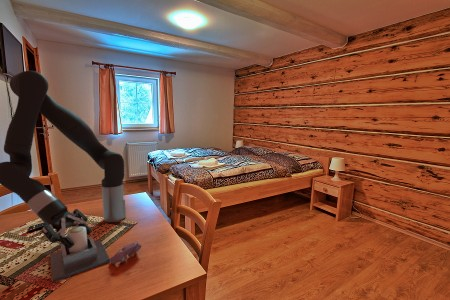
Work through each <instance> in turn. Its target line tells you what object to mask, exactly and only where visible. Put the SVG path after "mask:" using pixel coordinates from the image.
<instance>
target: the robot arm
mask: <svg viewBox="0 0 450 300" xmlns="http://www.w3.org/2000/svg"><path fill="white" fill-rule="evenodd" d="M9 87H10V90H11V91H12V93H13V94H15V96H17V97H18V100H17V104H16V108H15V112H14V114H13V116H12V118H11V121H10V122H9V125H8V127H7V130H6V135H5V140H4V145H3V151H4V153H5V154H7V155H8V156H9V161H3V162H0V186H3V187H4V188H5V189H7V190H9V191H10V192H12V193H14V194H15V195H17V196H18V197H19V198H20V199H21V200H22V201H23V202H24V203H25V204H26V205H27V206H28V208H30V210H31V211H32V212H33V213H34V214H35V215H36V216H37V217H38V218H39V219H41V220H42V222H43V223H44V224H45V225H44V226H43V227H42V229H41V230H40V232H41V233H42V234H43V235H44V236H45V237H46V238H47V239H48V241H49V242H50V243H51V244H55V243H57V242H60V243H61V245H64V246H65V247H67V248H71V247H72V246H73V245H74V243H73V242H72V241H71V240H70V239H69V238H68V236H67V235H66V231H67V229H69V228H71V227H73V228H75V227H86V233H87V236H89V235H90V234H91V233H92V231H93V230H92V228H91V227H90V226H89V225H88V224H87V223H86V222H88V221H89V218H88V217H87V216H86V215H85V214H84V213H83V212H81V210H79V209H78V208H75V209H74V210H72V211H69V210H68V206H66V204H65V203H63V202H62V201H61V200H60V198H59V197H58V196H56V195H55V194H54V193H53V192H52V191H50V190H49V189H48V188H47V187H46V186H45V185H44V183H42V181H40V180H38V179H35V178H32V177H30V176H31V174H32V172H33V160H32V153H31V150H32V146H33V140H34V134H35V130H36V125H37V121H38V117H39V113H40V115H42V116H43V117H44V118H45V119H46V121H48V122H49V123H50V124H52V125H53V126H54V128H56V129H57V130H58V131H59V132H60V133H61V134H62V135H64V136H65V138H67V139H68V140H69V141H70V142H72V143H74V145H76V146H77V147H78V148H79V149H80V150H82V151H84V152H85V153H86V155H87V154H88V156H89V157H90V158H91V159H92V160H93V161H94V162H95V163H96V165H98V167H100V168H101V169H102V170H104V174H103V175H104V177H103V178H102V180H101V195H102V197H101V198H102V211H103V221H104V222H106V223H116V222H119V221H121V220H123V219H125V218H127V214H126V213H127V211H126V199H125V198H124V197H125V196H124V195H125V194H124V178H125V160H124V157H123V156H122V155H121V153H119V152H115V151H111V150H109V148H107V147H106V146H105V145H103V144H102V143H101V142H100V141H99V139H98V137H96V135H95V133H94V131H93V129H92V128H91V127H90V126H89V125H88V124H87V123H86V122H85V121H84V120H83V119H82V118H81V117H80V116H79V115H78V114H76V113H74V112H73V111H71V110H70V109H68V108H66V107H64V106H63V105H61V104H59V102H57V101H55V100H54V99H53V98H52V96H50V94H48V91H49V82H48V80H47V78H46V77H45V76H44V75H43V74H42V73H40V72H39V71H36V70H24V71H22V72H19V73H17V74H15V75H13V76H12V77H11V78H10V80H9Z"/></svg>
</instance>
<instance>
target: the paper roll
mask: <svg viewBox="0 0 450 300" xmlns="http://www.w3.org/2000/svg"><path fill="white" fill-rule="evenodd" d="M66 236H67V237H68V238H69V239H70V240H71V241H72V242H73V243H74V245H73V246H72V247H71V248H69V255H70V254H74V253H77V252H80V251H83V250H86V249H88V245H87V236H88V235H87V233H86V227H76V226H75V227H73V228H70V229H69V230H68V231H67V235H66Z"/></svg>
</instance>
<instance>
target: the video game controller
mask: <svg viewBox="0 0 450 300" xmlns="http://www.w3.org/2000/svg"><path fill="white" fill-rule="evenodd" d="M141 248H142V245H141V244H140V243H139V242H137V241H134V242H131V243H128V244H126V245H124V246H123V247H122V248H121V249H119V250H118V251H117V252H116V253H115V254H114V255H113V256H111V257H109V258H110V262H109V263H110V264H112V265H116V264H118V263H121V264H122V263H125V262H126V261H127V260H128V257H129V259H131V258H133V257H134V256H135V255H136V254H137V252H138V251H140V249H141Z"/></svg>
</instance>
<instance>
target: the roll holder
mask: <svg viewBox="0 0 450 300" xmlns="http://www.w3.org/2000/svg"><path fill="white" fill-rule="evenodd" d="M87 245H88V249H86V250H83V251H80V252H77V253H74V254H70V255H69V248H67V247H65V246H64V245H63V244H60V249H61V250H60V251H57V252H53V253H50V254H49V259H50V268H51V279H52V283H55V282H59V281H61V280H64V279H67V278H69V277H72V276H75V275H78V274H81V273H83V272H86V271H89V270H91V269H94V268H97V267H100V266H103V265H105V264H108V263H111V262H110V258H111V257H109V255H108V252H107V251H106V249H105V246H104V245H103V243H102V241H101V239H97V240H94V239H93V237H92V236H88V237H87Z"/></svg>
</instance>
